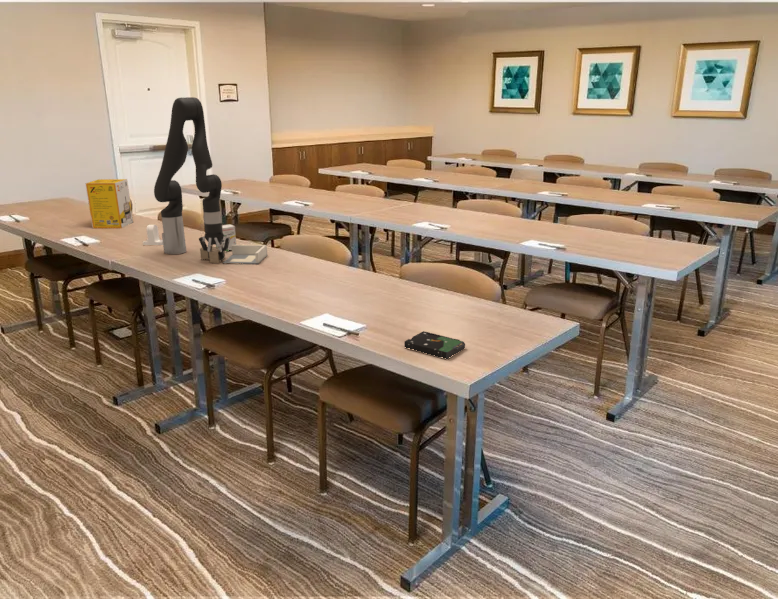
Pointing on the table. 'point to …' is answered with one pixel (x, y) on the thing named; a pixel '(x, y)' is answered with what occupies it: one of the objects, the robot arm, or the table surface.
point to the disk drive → (435, 344)
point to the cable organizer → (153, 236)
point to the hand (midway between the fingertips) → (216, 259)
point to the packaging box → (109, 203)
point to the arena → (247, 254)
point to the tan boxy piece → (211, 255)
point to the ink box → (229, 235)
